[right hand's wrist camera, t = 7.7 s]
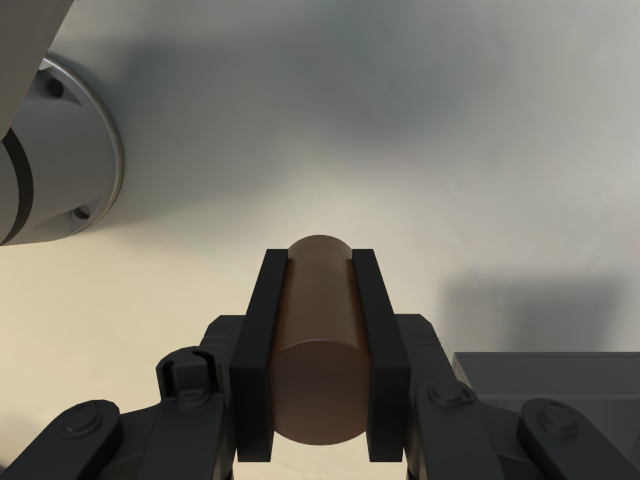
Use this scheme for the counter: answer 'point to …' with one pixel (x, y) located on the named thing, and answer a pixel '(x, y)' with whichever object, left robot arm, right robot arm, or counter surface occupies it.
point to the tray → (563, 387)
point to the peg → (320, 347)
